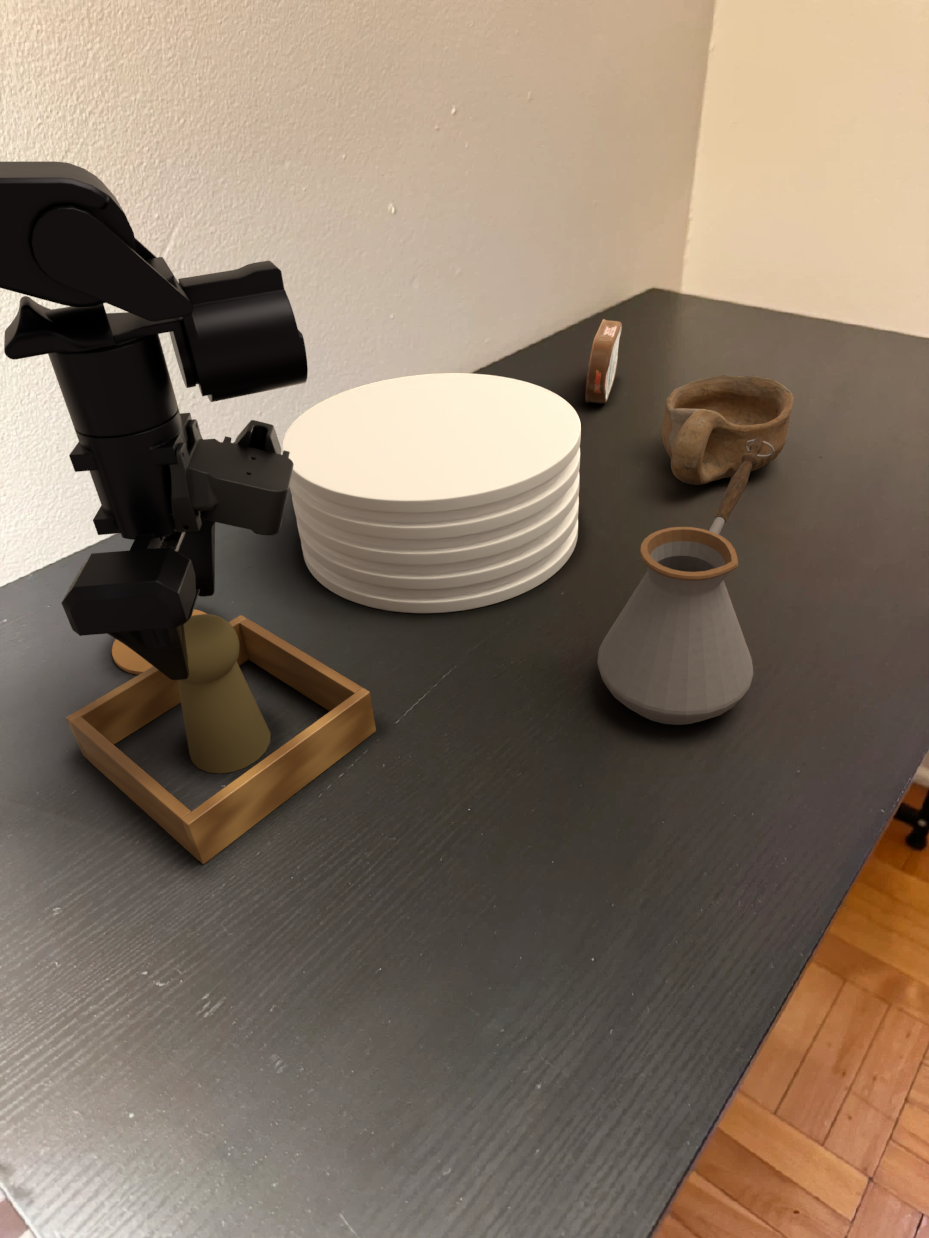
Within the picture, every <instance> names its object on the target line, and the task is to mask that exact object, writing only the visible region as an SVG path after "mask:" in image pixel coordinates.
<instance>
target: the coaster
mask: <svg viewBox="0 0 929 1238" xmlns="http://www.w3.org/2000/svg"><path fill="white" fill-rule="evenodd" d="M201 614H207V613H206V612H205V611H202V610H199V609H195V608H194V610H193V613H192V616H193V615H201ZM111 656H112V659H113V661H114V663H115V664H116V666H118V668H119V669H121V670H123V671H124V672H127V673H129V674H133V675H136V676H138V675H139V674H141V673H143V672H145V671H146V670H148V669H150V668H151V667H153V665H151V664H150V663H149V662H147V661H146V660H145V659H143V658H142V657H141V656H140V655H138V654H137V653H136V652H134V651H133V650H132V649H130V648H129V647H128V646H126V645H125V644H123V643H122V642H120V641H118V640H117V639H115V638H114V641H113V644H112V646H111Z"/></svg>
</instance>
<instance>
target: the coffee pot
mask: <svg viewBox="0 0 929 1238" xmlns="http://www.w3.org/2000/svg"><path fill="white" fill-rule="evenodd" d="M750 442H753V443H752V444H751V445H750V448H749V449H748V446H747V444H748V443H750ZM763 443H764V444H766V445H768V446H769V447H771V449H772V451H773V452H774V448H773V446H772V445H771V444H769V443H768V442H766V441H763V438H761V437H757V438H756V439H753V440H749V441H747V443H746V445H745V447H746V450H747V451H748V454H745V455H743V456H742V459H741V460H742V464H741V466H740V467H739V469H738V470H737V471H736V473H735V474H734V475H733V476H732V477H730V479H729V483H728V485H727V488H726V490H725V492H724V495H723V497H722V499H721V502H720V505H719V506H718V509H717V511H716V514H715V516H714V520H713V522H712V524H711V526H710V528H709V530H707V529H705V528H698V527H693V526H674V527H673V526H671V527H666V528H663V529H659V530H657V531H654V532H652V533H650V534H649V535H648V536H646V537H645V538H644V539H643V541H642V543H641V544H640V546H639V556H640V558H641V560H642V562H643V563H644V564H645V565H646V570H647V571H646V573H645V574H644V576H643V577H642V579H641V580H640V581H639V583H638V585H637V586H636V588H635V589H634V591H633V592H632V594H631V596H630V597H629V599H628V600H627V602H626V603H625V605H624V607H623V608H622V610H621V612H620V613H619V614H618V617H617V618H616V619H615V621H614V623H613V624H612V626H611V627H610V629H609V631H608V632H607V633H606V635H605V637H604V639H603V641H602V642H601V644H600V646H599V647H598V652H597V660H596V661H597V662H596V663H597V668H598V670H599V673H600V676H601V680H602V681H603V683H604V685H605V686H606V688H607V690H608V691H609V693H611V695H612V696H613V698H614V699H615V700H617V701H618V702H620V703H621V704H622V705H624V707H626V708H627V709H629V710H630V711H632V712H635V713H637V714H638V715H639V716H641V717H643V718H646V719H647V720H649V721H653V722H657V723H660V724H665V725H675V726H682V725H692V724H695V723H699V722H704V721H706V720H709V719H712V718H716V717H719V716H722V715H723V714H724V713H726V712H729V710H731V709H733V708H734V707H735V706H736V705H737V704H738V703H739V702H740V701H741V700H742V699H743V697H744V696H746V695H745V694H746V693H747V692H748V691H749V690H750V688H751V684H752V681H753V678H754V666H753V659H752V656H751V653H750V650H749V647H748V645H747V642H746V639H745V636H744V633H743V630H742V628H741V625H740V623H739V620H738V619H739V618H738V617H737V614H736V611H735V608H734V606H733V602H732V599H731V598H730V594H729V592H728V589H727V586H726V583H725V581H724V580H725V579H726V578H727V577H728V576H729V575H730V574H731V573H732V572H733V571H735V570H736V569H738V568H739V558H738V555H737V551H736V549H735V547H734V546H733V544H732V543H731V542H730V541H729V540H728V539H727V538H725V537H724V536H722V535H721V532H722V530H723V528H724V525H725V523H727V521H728V519H729V517H730V516H731V514H732V512H733V511H734V509H735V507H736V505H737V504H738V501H739V500H740V498H741V497H742V494H743V493H744V491H745V489H746V488H747V486H748V482H749V477H750V474H751V472H752V471H751V468H752V467H753V466H755V465H756V464H757V462H758V460H757V457H769V456H772V454H773V452H772V453H771V454H768V455H759V454H758V453H759V452H760V451H761V448H762V444H763ZM756 456H757V457H756Z"/></svg>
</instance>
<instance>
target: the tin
mask: <svg viewBox="0 0 929 1238" xmlns="http://www.w3.org/2000/svg"><path fill="white" fill-rule="evenodd" d="M622 331H623V324H622V322H621V321H617V320H609V319H608V320H607V319H605V318H603V319H602V320H601V322H600V325H599V326H598V329H597V331H596V333H595V336H594V338H593V341H592V345H591V350H590V354H589V359H588V365H587V374H586V383H585V396H584V398H585V402H586V403H594V404H606V403H607V401H608V399H609V397H610V394H611V391H612V388H613V385H614V382H615V380H616V379H615V378H616V374H617V368H618V362H619V346H620V339H621V338H620V337H621V336H622Z"/></svg>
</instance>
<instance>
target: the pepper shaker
mask: <svg viewBox="0 0 929 1238" xmlns="http://www.w3.org/2000/svg"><path fill="white" fill-rule="evenodd" d="M228 622H229V621H227V620H226V619H224V618H223V617H222V616H219V615H217V614H211V613H206V614H201V615H193V616H191V618H190V619H189V620H188V621H187V622H186V623H185V624H183V625H184V633H185V640H186V648H187V656H188V667H189V676H188V678H187V679H184V680H177V681H178V687H179V694H180V700H181V703H180V705H181V712H182V718H183V724H184V730H185V735H186V741H187V747H188V754H189V757H190V761H191V763H192V764H193V765H195V767H196V768H198V770H202V771H204V772H206V773H210V774H227V773H235V772H237V771H239V770H243V769H245V768H247V767H249V766H251V765H252V764H253V763H256V762H257V761H258V760H259V759H260V758H261V757H262V756H263V755H264V754H265V753H266V752H267V750H268V747H269V745H270V744H271V731H270V728H269V727H268V724H267V723H266V720H265V718H264V716H263V714H262V712H261V709H260V707H259V705H258V703H257V701H256V699H255V697H254V695H253V693H252V690H251V688H250V687H249V684H248V682H247V680H246V678H245V676H244V674H243V672H242V670H241V667H240V666H239V665H238V663H237V661H236V660H237V659H238V655H239V640H238V636H237V634H236V632H235V630H234V628H233V627H232V625H231V624H230V623H228Z"/></svg>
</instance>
